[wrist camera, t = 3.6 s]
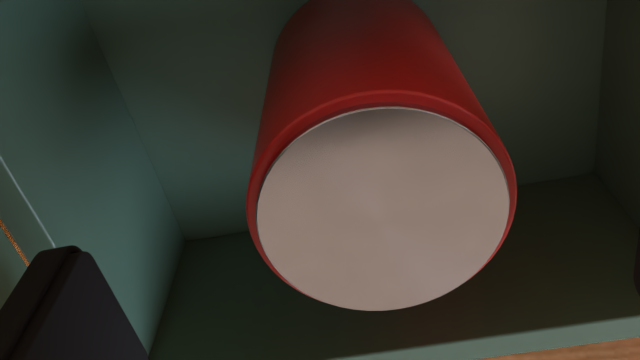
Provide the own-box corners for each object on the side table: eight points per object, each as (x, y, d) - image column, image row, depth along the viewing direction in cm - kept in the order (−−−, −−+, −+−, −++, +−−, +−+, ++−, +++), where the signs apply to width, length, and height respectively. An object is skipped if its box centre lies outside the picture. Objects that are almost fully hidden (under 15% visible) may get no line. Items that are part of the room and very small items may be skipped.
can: (435, -34, 14) (521, 67, 8) (449, 130, 17) (522, 298, 11) (251, 5, 15) (207, 127, 9) (293, 159, 18) (281, 334, 12)
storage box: (643, -236, 13) (910, -288, 7) (605, 174, 19) (731, 325, 13) (26, -86, 14) (-165, -27, 9) (177, 247, 21) (123, 408, 15)
